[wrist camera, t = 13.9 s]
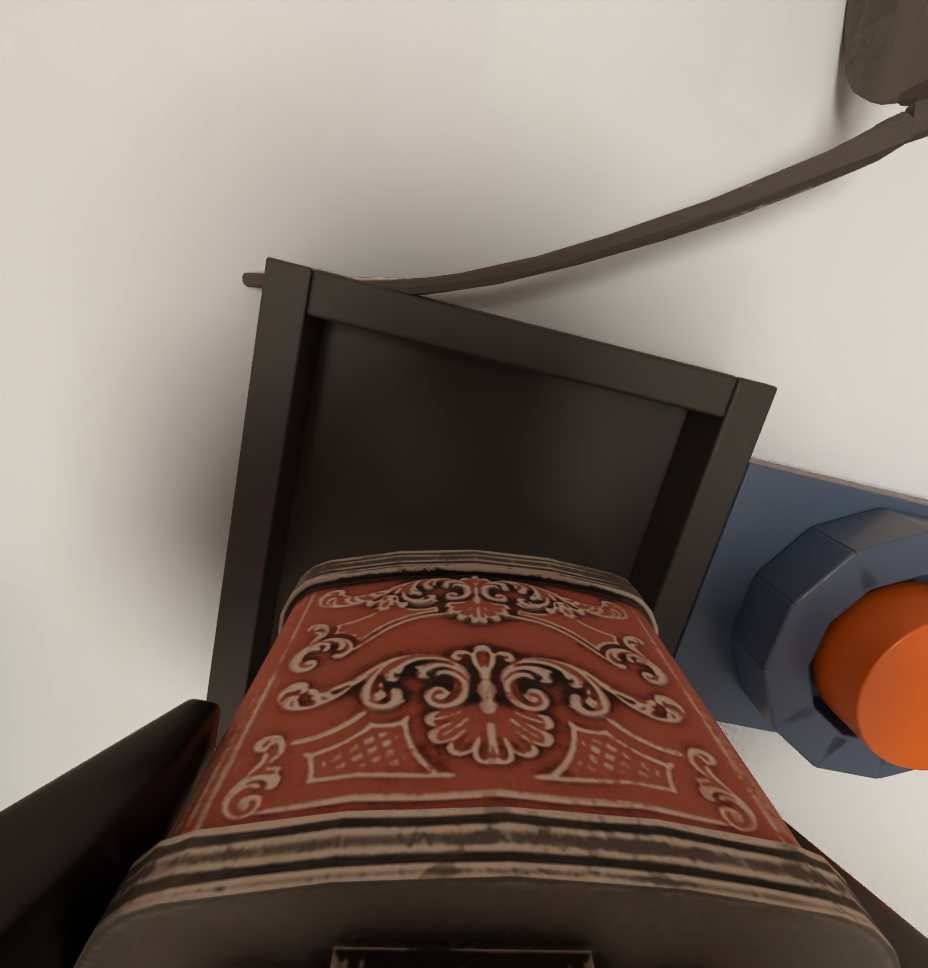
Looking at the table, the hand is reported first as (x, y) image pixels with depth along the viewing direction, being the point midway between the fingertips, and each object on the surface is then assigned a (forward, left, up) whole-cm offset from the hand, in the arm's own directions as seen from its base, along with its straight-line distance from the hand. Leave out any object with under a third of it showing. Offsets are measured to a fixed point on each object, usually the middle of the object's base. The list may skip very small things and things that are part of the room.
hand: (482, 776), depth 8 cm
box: (-12, -1, -9) cm, 15 cm away
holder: (0, 0, -9) cm, 9 cm away
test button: (-12, -1, -6) cm, 13 cm away
